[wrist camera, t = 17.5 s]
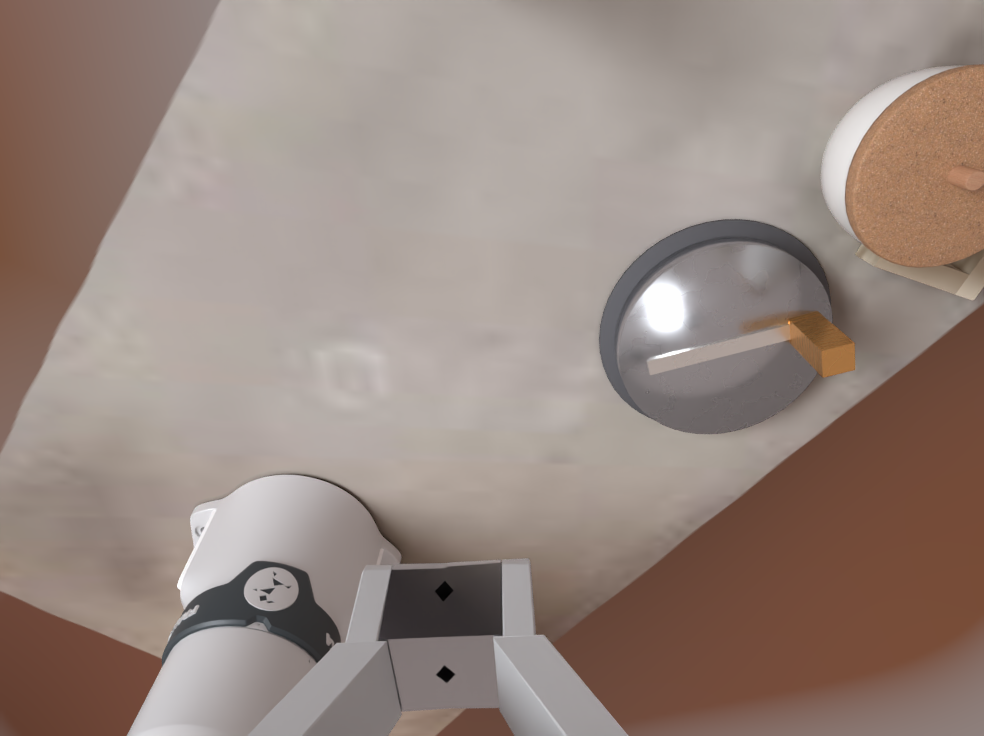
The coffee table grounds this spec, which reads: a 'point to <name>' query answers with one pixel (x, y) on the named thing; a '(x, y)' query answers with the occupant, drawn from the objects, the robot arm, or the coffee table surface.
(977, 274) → the cream u-shaped bracket
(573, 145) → the coffee table surface
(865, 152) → the lidded jar
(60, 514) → the coffee table surface
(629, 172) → the coffee table surface
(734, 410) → the turntable
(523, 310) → the coffee table surface
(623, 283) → the base
